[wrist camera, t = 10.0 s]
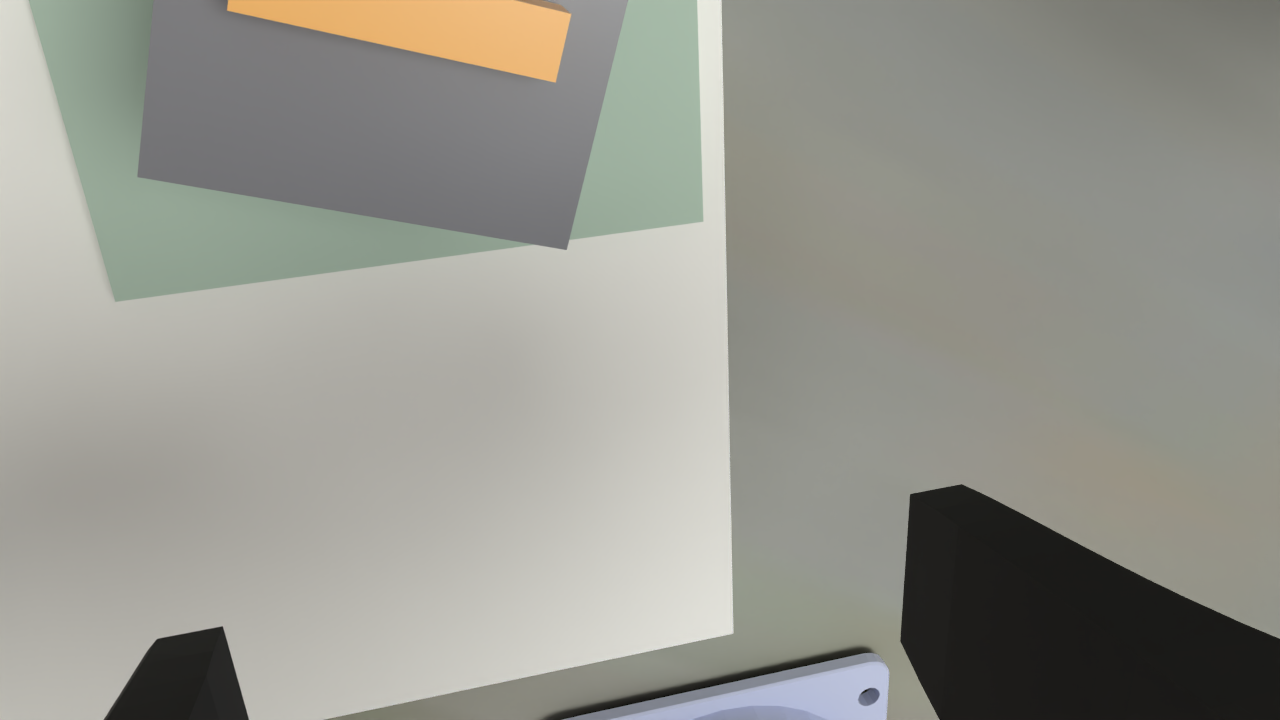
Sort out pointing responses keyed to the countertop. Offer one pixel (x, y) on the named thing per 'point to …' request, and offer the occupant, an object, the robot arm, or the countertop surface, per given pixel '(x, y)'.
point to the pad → (332, 240)
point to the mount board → (354, 450)
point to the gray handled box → (385, 106)
